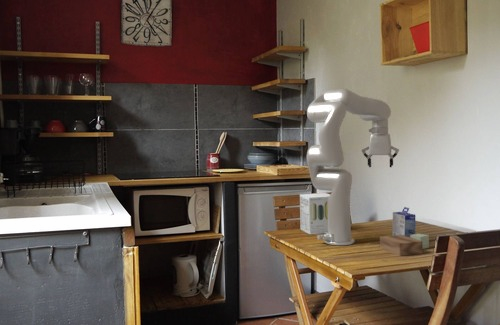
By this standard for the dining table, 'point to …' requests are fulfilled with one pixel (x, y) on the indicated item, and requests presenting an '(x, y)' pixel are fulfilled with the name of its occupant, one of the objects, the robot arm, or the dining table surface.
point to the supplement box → (314, 213)
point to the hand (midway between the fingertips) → (380, 167)
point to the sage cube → (422, 239)
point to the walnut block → (401, 245)
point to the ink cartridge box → (403, 223)
